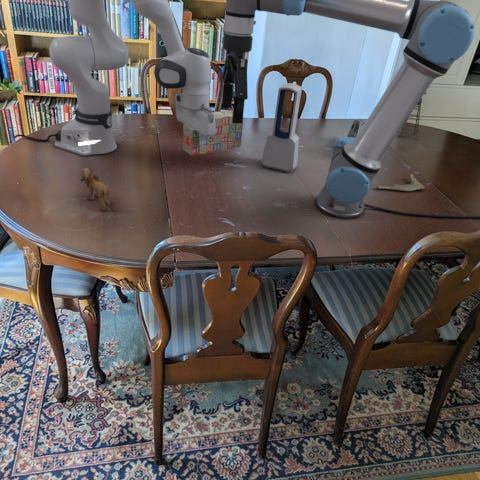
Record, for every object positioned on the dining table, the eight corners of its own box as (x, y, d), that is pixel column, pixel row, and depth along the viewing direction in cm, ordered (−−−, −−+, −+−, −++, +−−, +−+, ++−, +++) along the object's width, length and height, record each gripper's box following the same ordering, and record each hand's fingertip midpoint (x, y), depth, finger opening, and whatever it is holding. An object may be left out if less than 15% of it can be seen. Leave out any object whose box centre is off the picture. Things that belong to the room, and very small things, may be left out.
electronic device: (296, 166, 177) (310, 86, 161) (292, 174, 171) (306, 91, 154) (265, 160, 180) (276, 80, 163) (259, 167, 174) (270, 85, 157)
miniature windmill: (417, 139, 216) (437, 73, 200) (398, 137, 217) (417, 70, 201) (414, 133, 223) (434, 68, 207) (397, 130, 224) (415, 66, 208)
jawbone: (429, 189, 172) (431, 184, 171) (394, 201, 161) (396, 196, 160) (410, 177, 177) (412, 172, 176) (375, 189, 167) (376, 184, 165)
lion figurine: (77, 195, 143) (74, 168, 138) (92, 190, 146) (90, 163, 142) (107, 213, 136) (105, 185, 131) (122, 207, 139) (120, 180, 134)
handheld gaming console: (349, 160, 187) (354, 136, 182) (342, 158, 188) (347, 134, 183) (355, 142, 206) (361, 119, 201) (349, 140, 207) (354, 118, 201)
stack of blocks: (191, 156, 161) (192, 121, 155) (182, 150, 165) (183, 115, 159) (241, 146, 173) (243, 114, 166) (231, 141, 177) (233, 109, 170)
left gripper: (221, 108, 150) (218, 149, 158) (188, 92, 164) (187, 130, 171) (205, 111, 147) (203, 152, 154) (172, 93, 160) (172, 132, 168)
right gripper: (265, 44, 111) (256, 130, 123) (241, 26, 131) (234, 101, 143) (235, 43, 109) (228, 130, 121) (214, 24, 129) (210, 100, 141)
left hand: (194, 140), depth 163 cm, fingers closed on stack of blocks, 6 cm apart
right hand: (231, 114), depth 132 cm, fingers open, 13 cm apart
